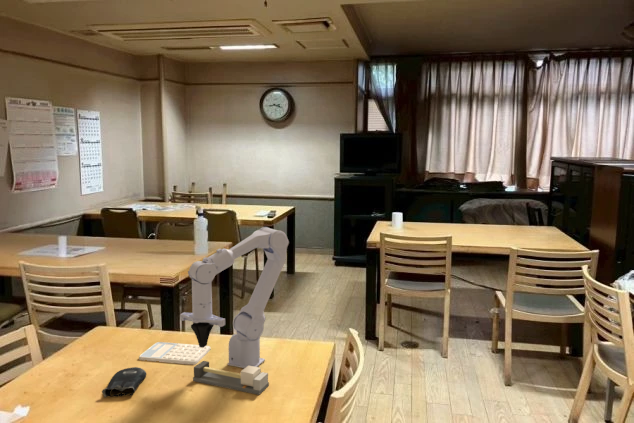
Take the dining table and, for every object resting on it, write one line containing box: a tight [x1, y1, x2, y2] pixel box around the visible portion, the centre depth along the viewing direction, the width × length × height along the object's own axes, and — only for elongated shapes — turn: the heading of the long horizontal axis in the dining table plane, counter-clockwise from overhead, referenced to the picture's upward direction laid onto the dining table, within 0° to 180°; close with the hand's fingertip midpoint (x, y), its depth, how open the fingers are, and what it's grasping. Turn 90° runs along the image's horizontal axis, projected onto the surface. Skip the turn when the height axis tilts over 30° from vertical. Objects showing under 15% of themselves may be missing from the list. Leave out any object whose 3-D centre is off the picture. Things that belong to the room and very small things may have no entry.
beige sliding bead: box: [240, 365, 261, 387], centre depth 147 cm, size 4×4×4 cm
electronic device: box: [101, 366, 147, 398], centre depth 148 cm, size 9×6×15 cm
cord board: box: [192, 360, 270, 396], centre depth 150 cm, size 22×6×4 cm, turn 68°
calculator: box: [138, 341, 211, 366], centre depth 170 cm, size 13×20×2 cm, turn 80°
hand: (203, 346), depth 153 cm, fingers closed
